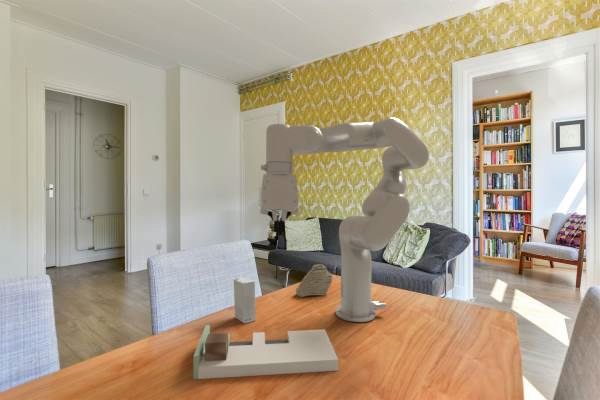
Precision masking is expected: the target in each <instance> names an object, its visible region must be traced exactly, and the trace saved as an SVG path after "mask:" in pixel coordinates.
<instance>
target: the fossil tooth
mask: <svg viewBox="0 0 600 400" xmlns="http://www.w3.org/2000/svg"><path fill="white" fill-rule="evenodd" d="M333 278H334V277H333V274H332V273H331V272H330V271H329V270H327V266H324V264H314V265H313V266H312V267H311V269H310V271H308V272H307V273H306V275H305V276H304V277H303V279H301V282H300V283H299V285H297V288H296V289H295V294H296V296H297V297H299V298H304V297H307V296H326V295H327V294H328V291H329V290H330V287H331V286H332V283H333V282H332V281H333Z"/></svg>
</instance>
